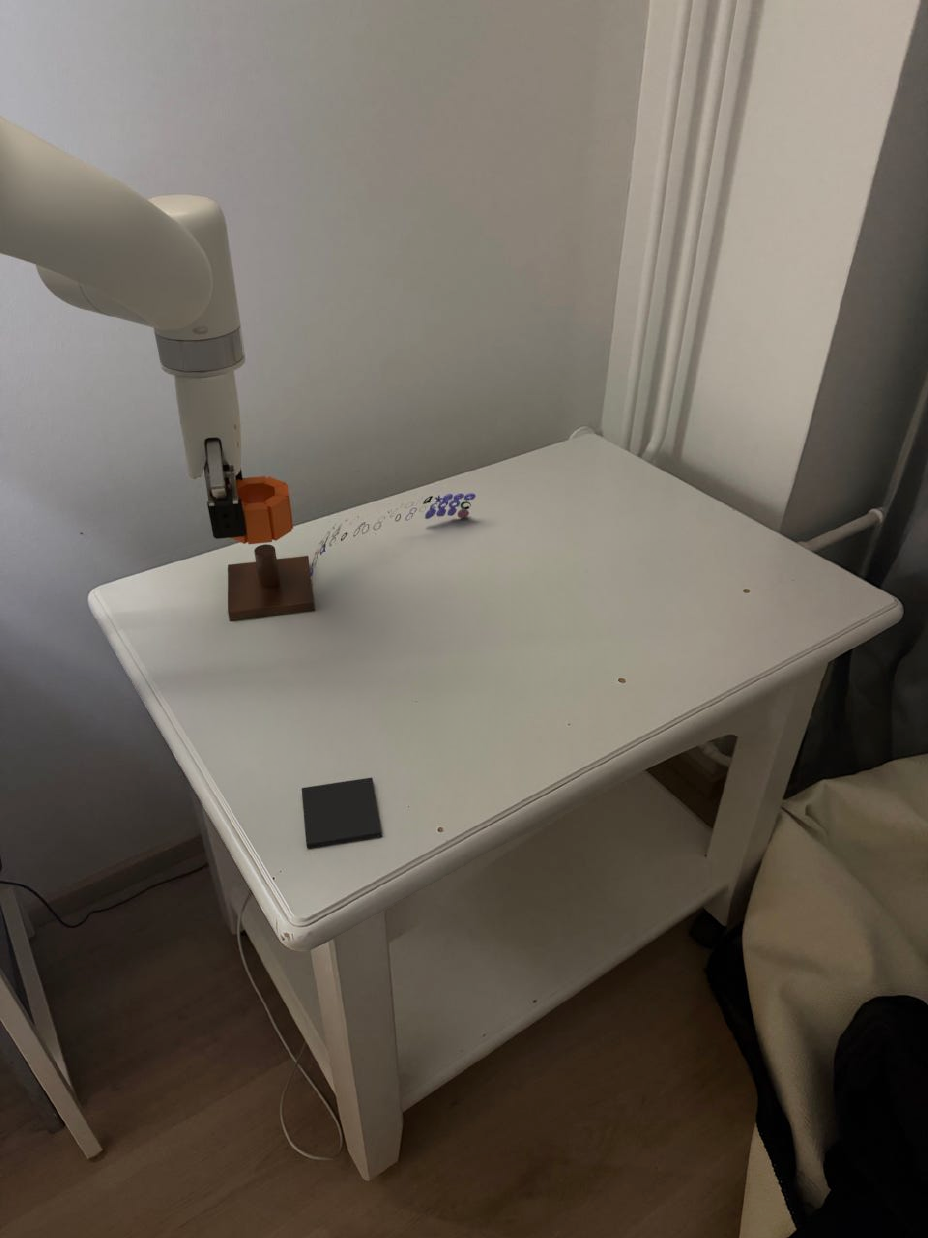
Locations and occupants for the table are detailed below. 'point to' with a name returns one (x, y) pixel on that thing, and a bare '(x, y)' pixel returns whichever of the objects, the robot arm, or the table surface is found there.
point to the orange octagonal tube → (264, 509)
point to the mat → (340, 813)
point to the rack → (269, 586)
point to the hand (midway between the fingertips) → (230, 516)
